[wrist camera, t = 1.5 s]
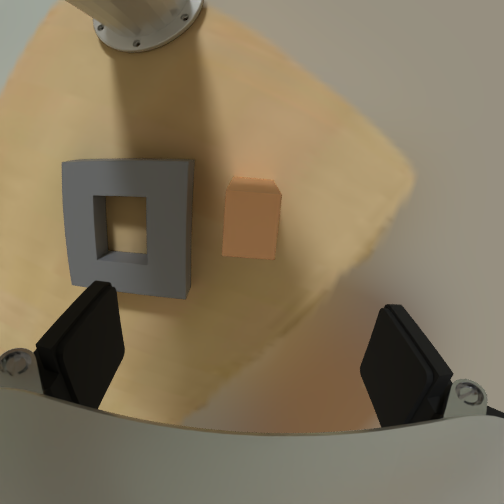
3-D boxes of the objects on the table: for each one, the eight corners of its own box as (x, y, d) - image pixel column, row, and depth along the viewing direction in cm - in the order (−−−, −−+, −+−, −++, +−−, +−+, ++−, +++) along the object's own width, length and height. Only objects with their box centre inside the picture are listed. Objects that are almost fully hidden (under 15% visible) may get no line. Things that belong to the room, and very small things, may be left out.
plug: (233, 176, 30) (226, 190, 22) (273, 179, 30) (281, 194, 22) (229, 224, 32) (221, 255, 23) (268, 227, 32) (274, 259, 23)
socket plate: (75, 159, 29) (61, 162, 26) (194, 159, 29) (188, 161, 27) (83, 274, 34) (72, 285, 31) (190, 286, 34) (185, 299, 31)
